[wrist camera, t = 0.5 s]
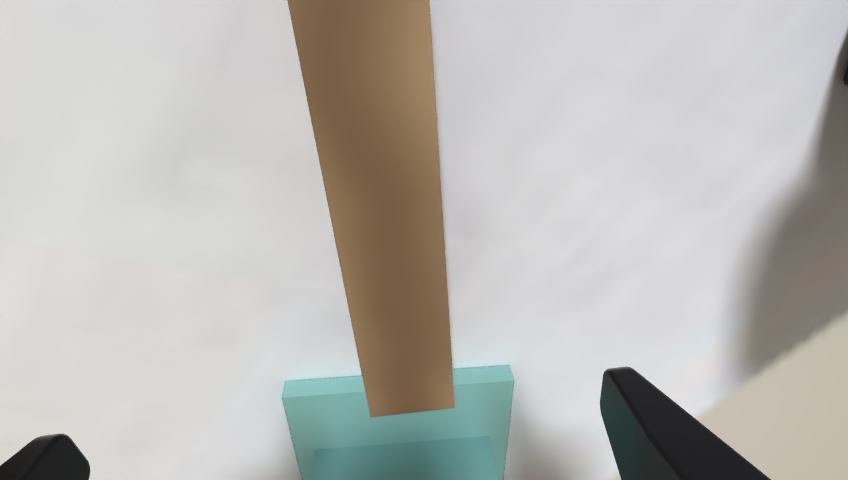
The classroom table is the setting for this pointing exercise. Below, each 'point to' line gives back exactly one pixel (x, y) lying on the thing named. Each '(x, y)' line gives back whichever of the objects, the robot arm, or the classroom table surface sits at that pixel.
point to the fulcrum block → (401, 431)
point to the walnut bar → (382, 189)
